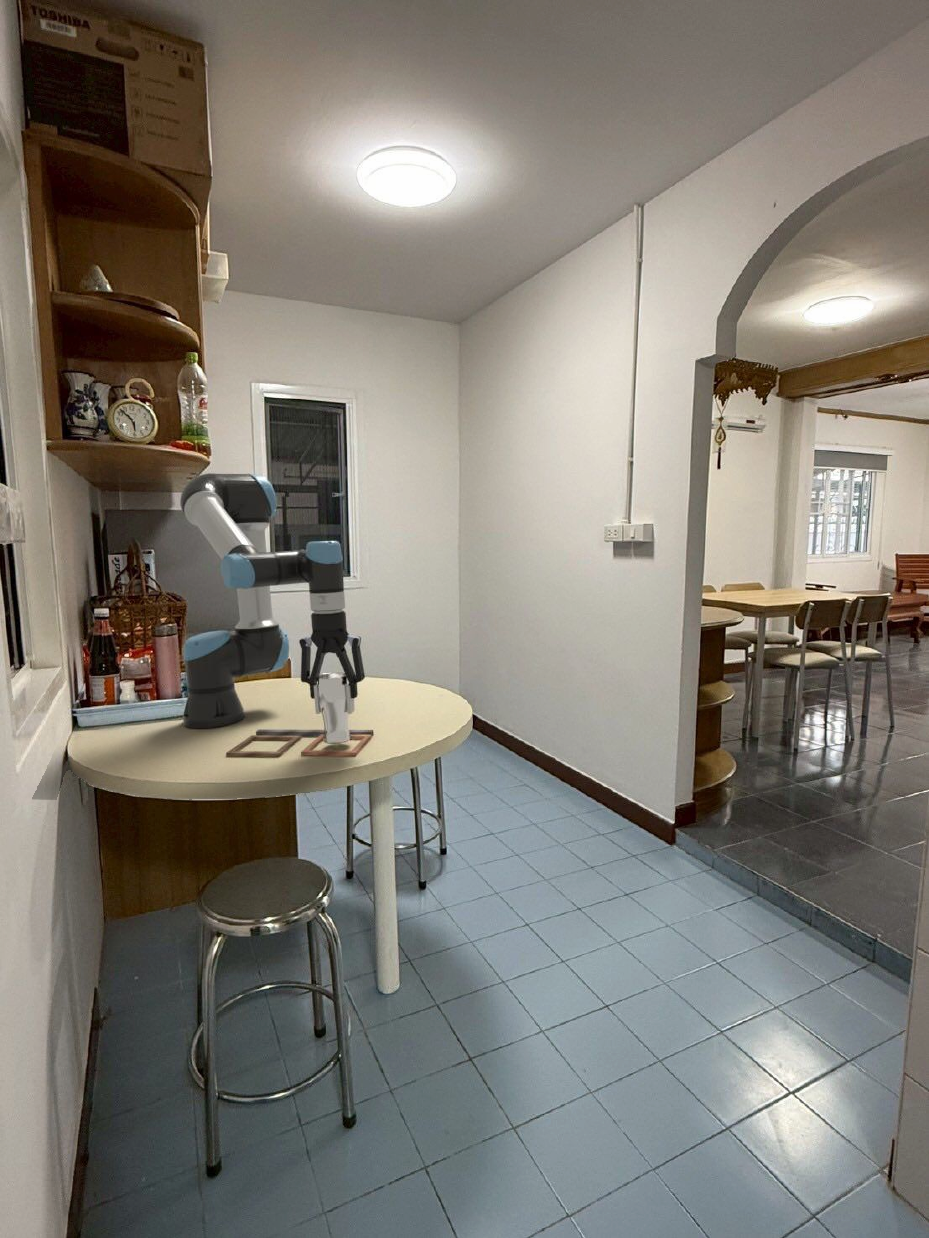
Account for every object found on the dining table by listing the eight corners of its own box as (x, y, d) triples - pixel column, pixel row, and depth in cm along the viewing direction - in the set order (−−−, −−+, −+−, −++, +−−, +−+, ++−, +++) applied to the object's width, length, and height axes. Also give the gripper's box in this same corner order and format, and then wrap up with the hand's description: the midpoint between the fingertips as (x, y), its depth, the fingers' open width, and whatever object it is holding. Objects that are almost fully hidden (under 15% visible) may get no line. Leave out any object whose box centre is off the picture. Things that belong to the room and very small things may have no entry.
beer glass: (337, 733, 153) (333, 670, 151) (359, 738, 149) (354, 673, 147) (314, 742, 148) (310, 677, 146) (336, 746, 144) (331, 680, 142)
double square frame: (226, 756, 145) (225, 751, 145) (258, 734, 161) (257, 729, 161) (354, 757, 141) (353, 752, 141) (374, 734, 157) (374, 729, 156)
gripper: (278, 614, 143) (287, 717, 146) (366, 612, 140) (372, 716, 143) (292, 610, 150) (300, 707, 153) (376, 608, 147) (382, 707, 150)
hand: (335, 712), depth 148 cm, fingers closed on beer glass, 7 cm apart
